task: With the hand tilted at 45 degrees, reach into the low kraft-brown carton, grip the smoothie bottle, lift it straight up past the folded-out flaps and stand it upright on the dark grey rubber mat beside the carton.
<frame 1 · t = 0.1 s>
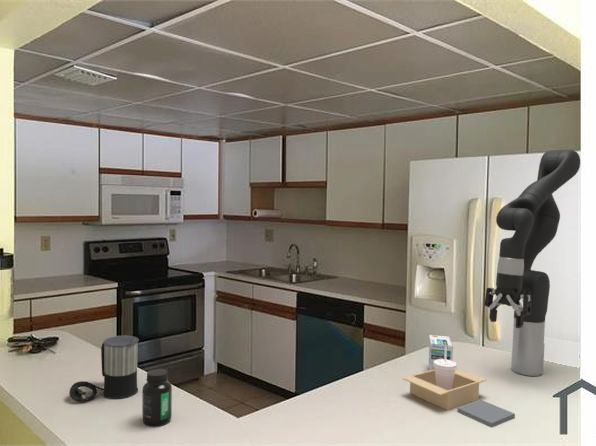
hand: (505, 324, 151), 17 cm above the countertop, tool pointing down, fingers open, 8 cm apart
light bulb box: (439, 373, 157), on the countertop
carton: (443, 396, 138), on the countertop
supplement bottle: (157, 421, 119), on the countertop
smoothie: (443, 396, 138), resting in carton
mat: (485, 414, 127), on the countertop
milk frother: (105, 396, 133), on the countertop
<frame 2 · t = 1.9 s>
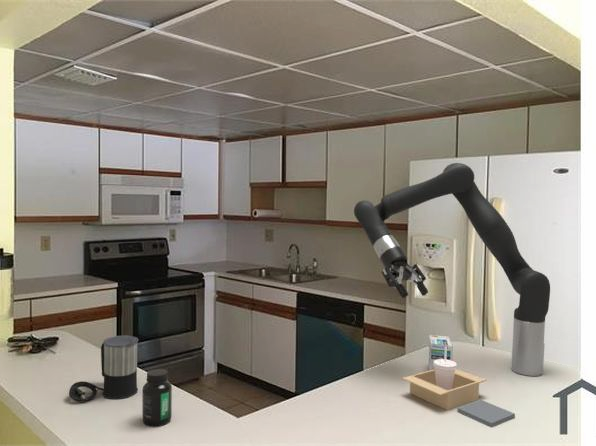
hand: (416, 295, 146), 27 cm above the countertop, tool tilted 45°, fingers open, 8 cm apart
nothing on the countertop moved.
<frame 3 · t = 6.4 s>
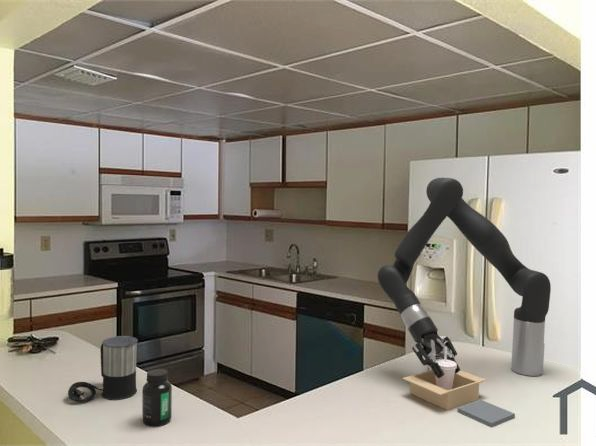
hand: (449, 374, 136), 7 cm above the countertop, tool tilted 45°, fingers closed on smoothie, 6 cm apart
smoothie: (443, 396, 138), resting in carton, touching gripper
everything else where it was.
when the fingers open (9 cm above the countertop, at t = 13.6 s): smoothie stays where it is, resting on mat.
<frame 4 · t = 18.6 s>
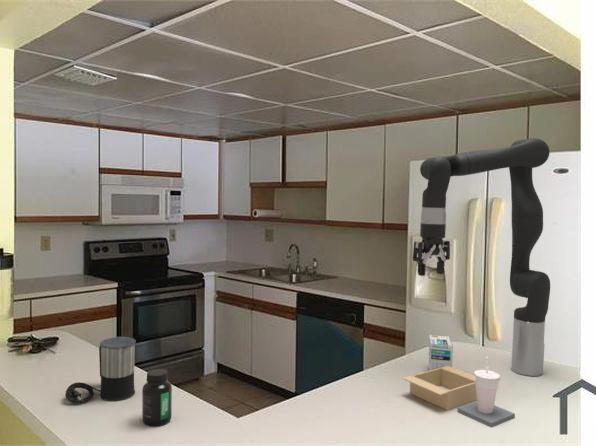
hand: (431, 274, 152), 32 cm above the countertop, tool pointing down, fingers open, 8 cm apart
smoothie: (485, 411, 127), point 1 cm above the countertop, touching mat
at the end: smoothie 0.2 cm off-centre on the mat, point 0.8 cm above the mat's base; smoothie tilted 0°; the gripper is holding nothing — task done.
